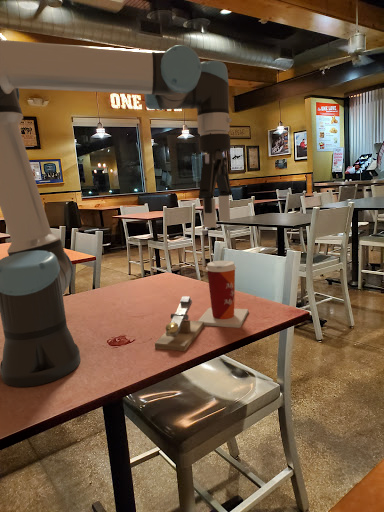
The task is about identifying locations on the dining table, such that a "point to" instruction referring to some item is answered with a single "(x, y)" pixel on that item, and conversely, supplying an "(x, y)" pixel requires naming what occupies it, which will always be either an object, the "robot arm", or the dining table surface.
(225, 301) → the paper cup
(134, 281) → the dining table surface
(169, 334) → the lever
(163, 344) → the lever base
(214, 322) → the tile
